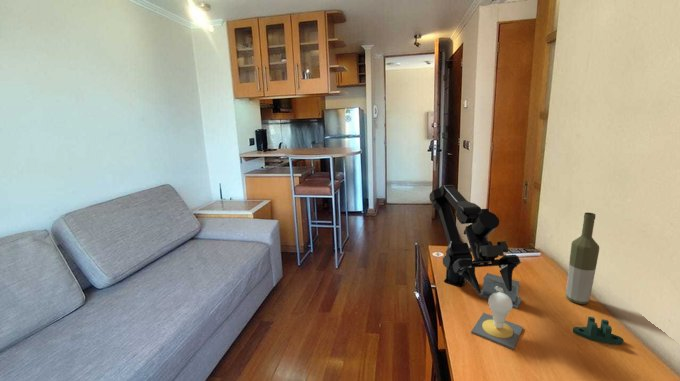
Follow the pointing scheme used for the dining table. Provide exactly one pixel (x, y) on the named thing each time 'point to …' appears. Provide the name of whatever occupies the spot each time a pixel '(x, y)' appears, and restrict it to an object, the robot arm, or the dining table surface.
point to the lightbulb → (500, 308)
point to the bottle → (582, 263)
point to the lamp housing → (500, 288)
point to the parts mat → (497, 331)
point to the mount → (598, 332)
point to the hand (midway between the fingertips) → (495, 292)
